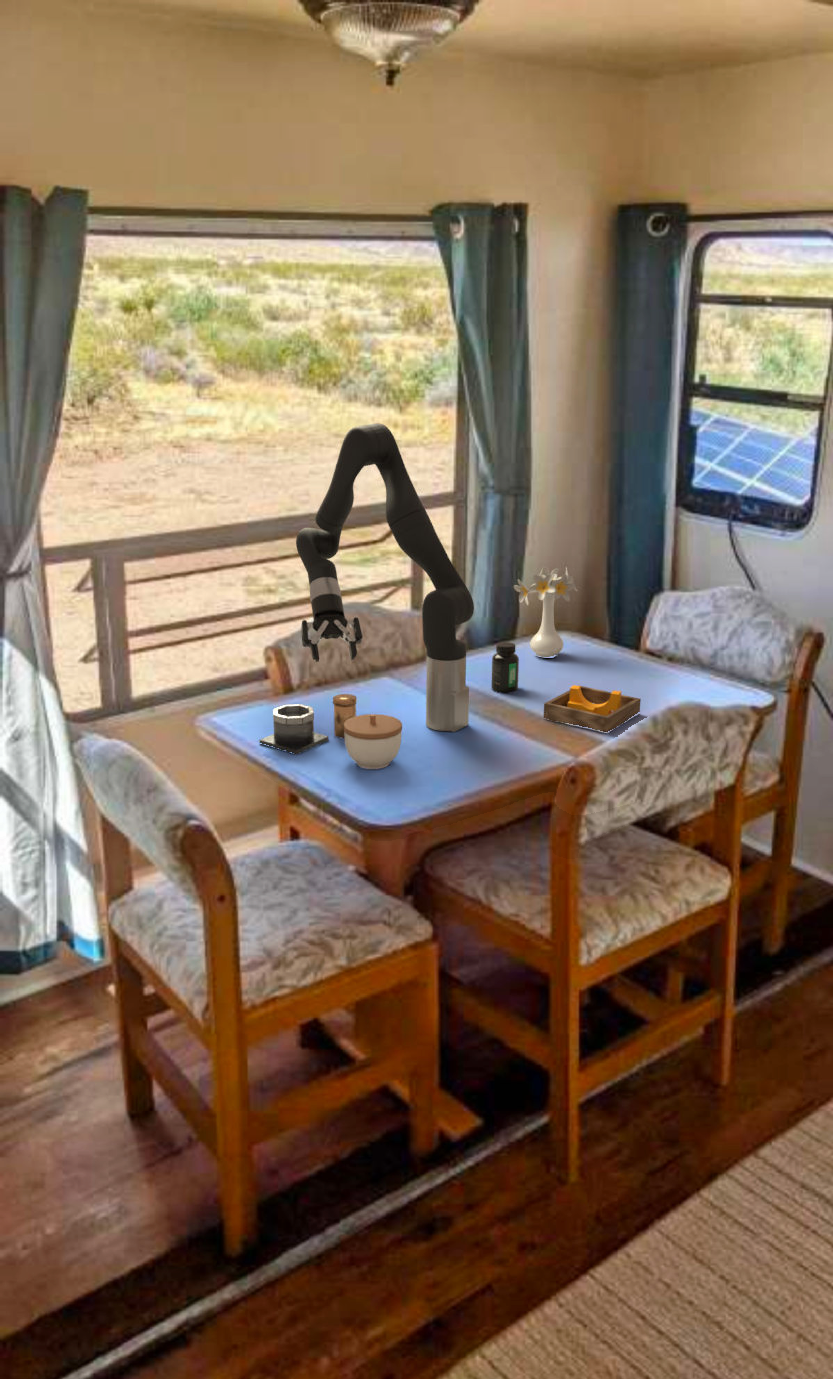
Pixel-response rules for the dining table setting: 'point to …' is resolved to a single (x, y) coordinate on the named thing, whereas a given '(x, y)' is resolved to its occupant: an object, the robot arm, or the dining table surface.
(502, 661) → the supplement bottle
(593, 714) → the hardware corral
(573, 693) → the pipe clamp
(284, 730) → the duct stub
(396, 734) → the lidded bowl
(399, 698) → the dining table surface
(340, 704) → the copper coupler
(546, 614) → the flower vase
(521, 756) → the dining table surface
